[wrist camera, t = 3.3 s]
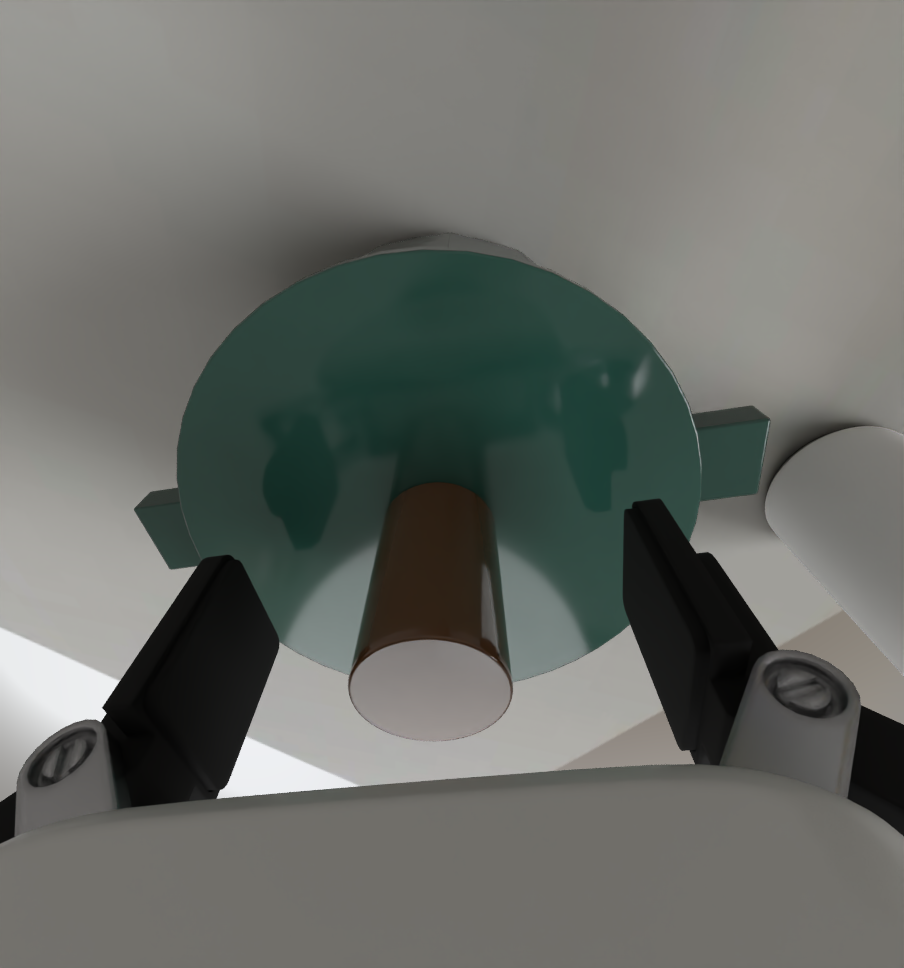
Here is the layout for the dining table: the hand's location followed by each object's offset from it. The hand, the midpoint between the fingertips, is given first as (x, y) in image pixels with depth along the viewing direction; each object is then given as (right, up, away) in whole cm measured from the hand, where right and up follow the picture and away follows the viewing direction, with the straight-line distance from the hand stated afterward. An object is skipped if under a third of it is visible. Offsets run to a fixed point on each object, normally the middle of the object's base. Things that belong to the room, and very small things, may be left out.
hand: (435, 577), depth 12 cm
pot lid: (0, +1, +2) cm, 2 cm away
